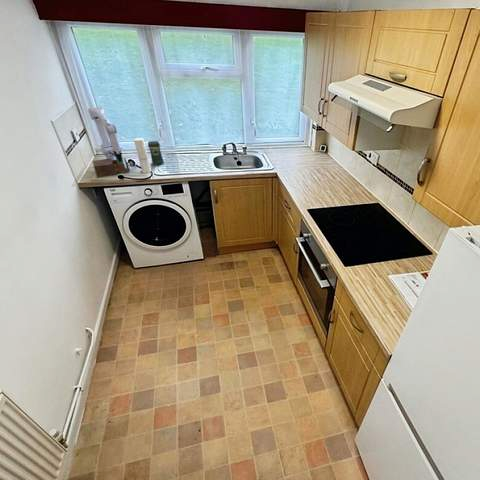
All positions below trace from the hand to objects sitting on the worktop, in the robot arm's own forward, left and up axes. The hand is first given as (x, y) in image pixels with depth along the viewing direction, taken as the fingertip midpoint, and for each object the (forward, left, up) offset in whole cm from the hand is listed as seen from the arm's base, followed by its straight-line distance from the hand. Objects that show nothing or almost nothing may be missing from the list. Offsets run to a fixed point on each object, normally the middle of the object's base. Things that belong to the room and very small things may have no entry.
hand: (120, 160), depth 233 cm
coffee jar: (-31, +11, -11) cm, 34 cm away
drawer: (-6, -5, -10) cm, 12 cm away
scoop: (+1, -1, -1) cm, 2 cm away
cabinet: (+3, -14, -10) cm, 18 cm away
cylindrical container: (-12, +13, -11) cm, 20 cm away
